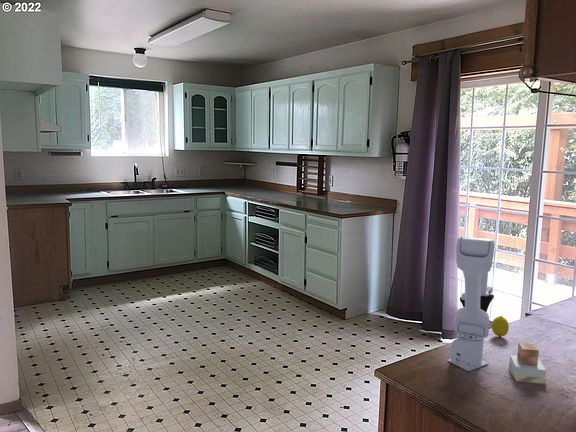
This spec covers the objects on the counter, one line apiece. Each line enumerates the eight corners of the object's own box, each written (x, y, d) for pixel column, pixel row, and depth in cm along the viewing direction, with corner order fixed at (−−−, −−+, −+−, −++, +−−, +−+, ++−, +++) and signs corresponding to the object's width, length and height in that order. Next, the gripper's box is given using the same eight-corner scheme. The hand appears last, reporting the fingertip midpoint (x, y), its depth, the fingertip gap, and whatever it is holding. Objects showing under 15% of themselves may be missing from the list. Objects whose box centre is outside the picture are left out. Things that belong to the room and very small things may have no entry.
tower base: (516, 383, 137) (516, 375, 137) (508, 370, 145) (509, 363, 145) (545, 386, 136) (546, 378, 135) (536, 372, 144) (536, 365, 143)
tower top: (515, 374, 137) (515, 366, 137) (509, 362, 145) (510, 355, 144) (545, 378, 135) (545, 370, 135) (537, 365, 143) (538, 358, 142)
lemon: (510, 340, 165) (512, 319, 164) (494, 340, 166) (496, 318, 164) (503, 334, 171) (505, 313, 170) (488, 334, 171) (490, 313, 170)
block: (520, 364, 138) (522, 348, 137) (517, 357, 142) (518, 342, 142) (537, 366, 137) (539, 350, 136) (533, 359, 141) (534, 344, 141)
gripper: (475, 285, 151) (473, 324, 153) (501, 277, 158) (498, 315, 161) (457, 279, 156) (454, 317, 159) (483, 272, 164) (480, 309, 167)
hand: (475, 316), depth 160 cm, fingers open, 7 cm apart
